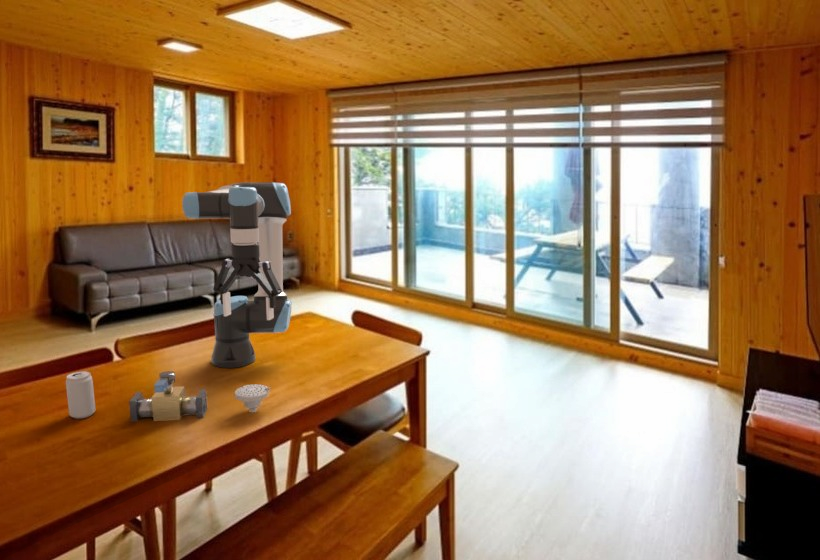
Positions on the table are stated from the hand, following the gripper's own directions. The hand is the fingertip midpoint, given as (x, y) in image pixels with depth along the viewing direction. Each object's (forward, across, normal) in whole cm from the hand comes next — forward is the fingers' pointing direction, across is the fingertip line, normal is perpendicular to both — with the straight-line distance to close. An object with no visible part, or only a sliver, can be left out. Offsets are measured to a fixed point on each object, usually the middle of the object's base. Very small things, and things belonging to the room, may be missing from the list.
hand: (248, 317), depth 157 cm
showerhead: (+27, -2, +3) cm, 28 cm away
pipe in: (+27, +13, +9) cm, 32 cm away
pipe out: (+27, +25, +14) cm, 40 cm away
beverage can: (+27, +43, +18) cm, 54 cm away
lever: (+17, +18, +14) cm, 29 cm away
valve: (+27, +19, +12) cm, 35 cm away
